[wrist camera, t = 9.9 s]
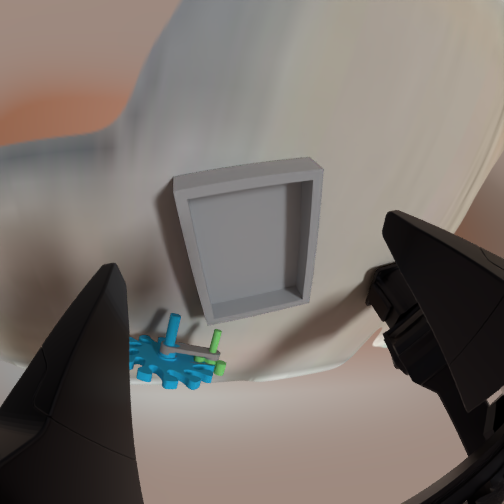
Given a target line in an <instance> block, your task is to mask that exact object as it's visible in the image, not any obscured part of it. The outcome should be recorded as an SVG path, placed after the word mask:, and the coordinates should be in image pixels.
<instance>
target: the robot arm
mask: <svg viewBox="0 0 504 504" xmlns="http://www.w3.org/2000/svg"><path fill="white" fill-rule="evenodd" d="M382 235H383V238H384V240H385V242H386V244H387V246H388V248H389V250H390V252H391V254H392V256H393V258H394V260H395V262H396V264H393V265H389V266H386V267H382V268H379V269H377V271H376V272H375V276H374V279H373V282H372V285H371V288H370V291H369V293H368V296H367V299H366V302H365V303H366V305H367V306H369V305H372V306H373V308H374V309H375V311H376V313H377V314H378V316H379V317H380V319H381V320H382V321H383V322H384V321H385V322H386V323H387V325H388V326H389V328H390V329H389V330H388V331H386V332H385V333H383V336H384V341H385V343H386V345H387V347H388V349H389V351H390V353H391V356H392V360H393V364H394V367H395V368H396V369H400V370H401V371H402V372H403V373H404V374H406V375H409V376H410V377H411V379H412V381H413V382H415V383H417V384H419V385H421V386H423V387H425V388H427V389H429V390H431V391H433V392H436V393H437V394H438V395H439V397H440V399H441V401H442V403H443V405H444V407H445V409H446V410H447V413H448V414H449V416H450V418H451V420H452V422H453V424H454V426H455V429H456V431H457V432H458V435H459V437H460V439H461V441H462V444H463V446H464V448H465V450H466V452H467V455H468V458H466V459H465V460H464V461H463V462H462V463H460V464H459V465H458V466H457V467H455V468H454V469H453V470H451V471H450V472H449V473H447V474H446V475H445V476H443V477H442V478H441V479H439V480H438V481H436V482H435V483H433V484H432V485H431V486H429V487H428V488H426V489H425V490H423V491H421V492H420V493H418V494H417V495H415V496H414V497H412V498H410V499H408V500H407V501H405V502H403V503H402V504H504V259H503V258H501V257H499V256H497V255H495V254H493V253H491V252H489V251H487V250H485V249H483V248H481V247H479V246H477V245H475V244H473V243H471V242H469V241H467V240H465V239H463V238H461V237H459V236H456V235H454V234H452V233H450V232H448V231H446V230H444V229H441V228H439V227H437V226H435V225H432V224H430V223H428V222H425V221H423V220H421V219H418V218H416V217H414V216H411V215H409V214H406V213H404V212H401V211H399V210H394V211H389V212H388V213H387V214H386V217H385V222H384V226H383V230H382ZM499 389H501V391H502V394H501V395H500V396H499V397H498V398H497V399H496V400H495V401H494V402H493V403H492V404H491V405H489V403H488V401H487V399H488V398H489V397H490V396H491V395H493V394H494V393H495V392H497V391H498V390H499ZM130 401H131V400H130V373H129V320H128V306H127V288H126V284H125V281H124V279H123V277H122V275H121V272H120V270H119V268H118V266H117V265H116V263H109V264H104V265H102V266H101V268H100V269H99V270H98V271H97V272H96V274H95V275H94V276H93V277H92V279H91V280H90V281H89V282H88V283H87V285H86V286H85V287H84V289H83V290H82V291H81V292H80V294H79V295H78V296H77V297H76V299H75V300H74V301H73V303H72V304H71V305H70V307H69V308H68V309H67V311H66V312H65V313H64V315H63V316H62V317H61V319H60V320H59V322H58V323H57V324H56V326H55V327H54V329H53V330H52V331H51V333H50V334H49V336H48V337H47V339H46V340H45V342H44V343H43V345H42V347H41V348H40V349H39V351H38V352H37V354H36V355H35V357H34V358H33V360H32V361H31V363H30V364H29V366H28V367H27V369H26V370H25V372H24V373H23V375H22V376H21V378H20V379H19V381H18V382H17V383H16V385H15V386H14V388H13V389H12V391H11V392H10V394H9V395H8V396H7V398H6V400H5V401H4V403H3V404H2V406H1V407H0V504H144V502H143V498H142V492H141V487H140V481H139V475H138V469H137V462H136V455H135V447H134V438H133V428H132V416H131V402H130ZM465 501H466V502H465Z"/></svg>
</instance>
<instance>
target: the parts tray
mask: <svg viewBox="0 0 504 504" xmlns="http://www.w3.org/2000/svg"><path fill="white" fill-rule="evenodd" d="M323 171H324V169H323V168H322V167H321V166H320V165H318V164H317V163H316V162H315V161H314V160H312V159H311V158H310V157H306V158H296V159H286V160H277V161H268V162H260V163H253V164H246V165H239V166H232V167H225V168H219V169H213V170H207V171H202V172H196V173H191V174H185V175H180V176H175V177H173V193H174V198H175V202H176V207H177V211H178V215H179V220H180V224H181V228H182V232H183V237H184V241H185V245H186V249H187V253H188V257H189V261H190V264H191V268H192V272H193V276H194V280H195V283H196V287H197V291H198V294H199V298H200V301H201V305H202V308H203V312H204V315H205V318H206V322H207V325H213V324H218V323H223V322H228V321H233V320H238V319H242V318H247V317H251V316H256V315H260V314H265V313H269V312H273V311H278V310H282V309H286V308H290V307H294V306H298V305H302V304H306V303H309V300H310V293H311V286H312V279H313V272H314V264H315V256H316V247H317V238H318V229H319V219H320V208H321V197H322V185H323Z"/></svg>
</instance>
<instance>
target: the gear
mask: <svg viewBox="0 0 504 504" xmlns="http://www.w3.org/2000/svg"><path fill="white" fill-rule="evenodd" d="M180 319H181V316H180V315H179V314H175V313H171V315H170V319H169V324H168V328H167V333H166V337H165V338H164V337H159V338H158V343H157V342H155V341H153V340H152V339H151V338H150V337H149V336H147V335H141V336H139V341H137V340H135V339H134V338H132V337H129V370H131V369H133V366H134V364H140V365H142V367H139V368H138V371H137V379H139V380H142V381H145V382H150V381H151V378H152V373H155V374H157V375H158V376H159V377H160V378H161V379H162V386H163V388H165V389H176V388H177V384H178V380H179V381H181V382H182V383H184V384H185V385H186V386H187V387H188V388H189V389H191V390H194V389H197V388H198V387H199V386H200V382H201V381H203V382H206V383H211V379H212V376H213V371H214V374H216V375H219V376H222V375H223V373H224V370H225V367H226V363H225V362H224V361H221V360H219V356H220V352H219V351H218V350H217V347H218V343H219V340H220V336H221V332H222V331H221V330H218V329H215V330H214V334H213V338H212V341H211V345H210V348H206V347H200V346H194V345H188V344H184V343H180V342H179V343H177V342H175V340H176V336H177V332H178V327H179V323H180ZM214 367H215V368H214Z"/></svg>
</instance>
